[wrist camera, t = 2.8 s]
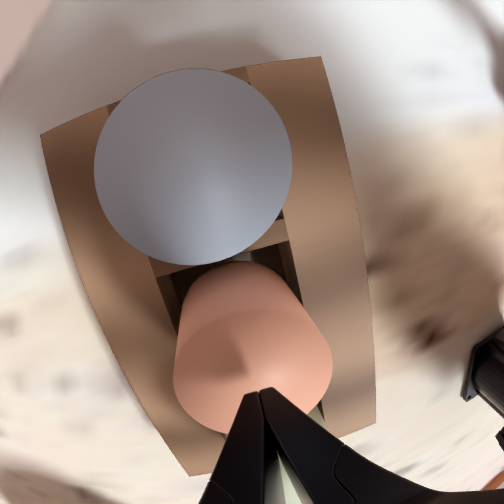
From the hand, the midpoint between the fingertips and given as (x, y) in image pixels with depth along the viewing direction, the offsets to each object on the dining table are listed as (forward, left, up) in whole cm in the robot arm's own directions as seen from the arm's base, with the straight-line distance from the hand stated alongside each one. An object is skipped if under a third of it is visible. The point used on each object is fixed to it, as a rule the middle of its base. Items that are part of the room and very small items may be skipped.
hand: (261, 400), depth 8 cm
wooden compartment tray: (0, 0, -8) cm, 8 cm away
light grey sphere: (+7, 0, -6) cm, 9 cm away
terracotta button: (0, 0, -6) cm, 6 cm away
